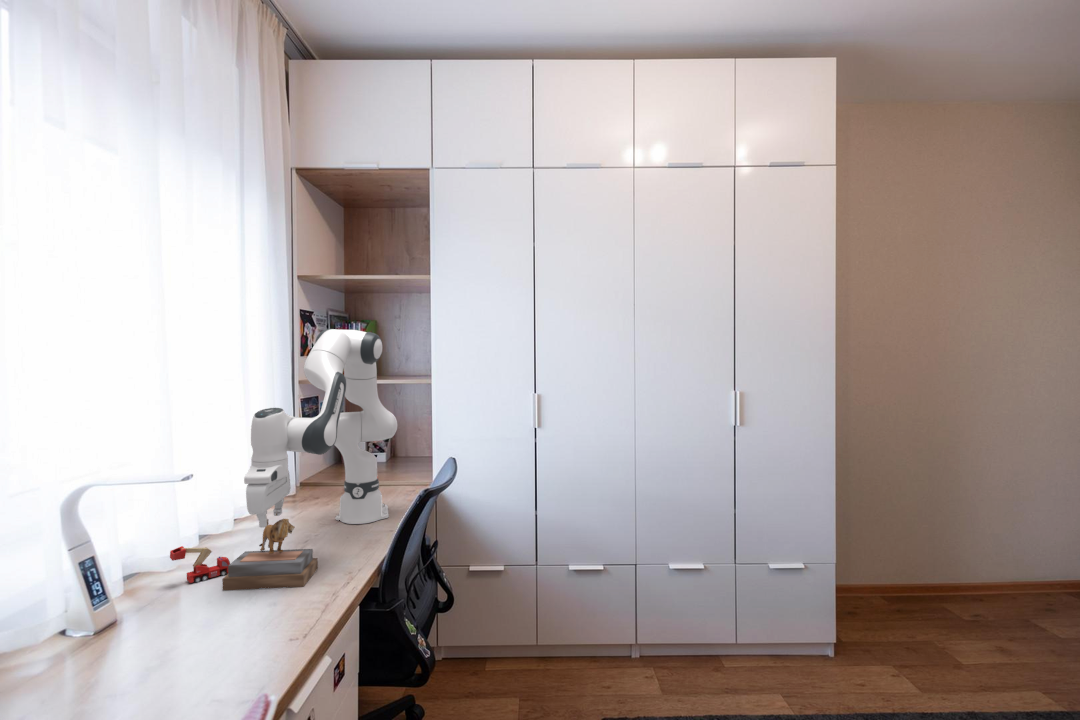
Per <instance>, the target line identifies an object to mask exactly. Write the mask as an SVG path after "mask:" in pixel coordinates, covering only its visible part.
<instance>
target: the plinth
mask: <svg viewBox="0 0 1080 720" xmlns="http://www.w3.org/2000/svg"><path fill="white" fill-rule="evenodd" d="M282 550H283V552H278V551H277V549H276V550H275V549H274V553H273V554H269V551H270V549H269V550H262V551H261V550H250V551H249V550H248V551H247V550H246V551H244V552H243V553H241V554H240V555H239V556H237V557H236V558H235V559H234V560H232V561H231V562H230V564H229V565H228V573H227V574H226V575H224V577H223V578H222V581H221V582H222V591H240V590H244V591H245V590H260V589H259V588H265V589H281V588H283V587H286V588H302V587H304V588H305V586H306V585H307V583H308V582H309V580H310V579H311V578H312V576H313V575H314V574H315V573H316V571H317V570H318V569H319V565H318V563H319V562H318V559H319V558H318V557H314V552H313V551H314V549H313V548H299V549H297V548H296V549H282ZM283 589H284V588H283Z"/></svg>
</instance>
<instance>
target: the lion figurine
mask: <svg viewBox="0 0 1080 720" xmlns="http://www.w3.org/2000/svg"><path fill="white" fill-rule="evenodd" d="M289 521H290V520H289V519H288V518H282V519H279V520H277V521H276V522H275V523H273V524H268V525H267V526H266V527H264V529H263V533H262V543H260V544H259V545H258V546H259V547H260V549H259V551H266V548H265V547H266V546H265V545H266V542H267V540H268V544H267V548H268V549H269V550H270V551H269V550H268V551H269V554H273V553H274V550H275V549H274V544H275V543H278V544H277V545H278V546H277V547H276V550H277V551H278V552H283V550H284V549H282V545H283V542H284V541H285V538H287V537H288V535H289V534H292V533H293V531H294V530H295V528H296V527H295V525H292V524H291V523H290V522H289Z"/></svg>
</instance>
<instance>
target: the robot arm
mask: <svg viewBox="0 0 1080 720" xmlns="http://www.w3.org/2000/svg"><path fill="white" fill-rule="evenodd" d="M383 347H384V346H383V339H382V338H381V337H380V336H379V334H377V333H374V332H371V331H367V332H366V331H362V330H359V329H358V330H357V329H334V328H328V329H327V328H326V329H323V330H321V331H320V332H319V333H318V334H317V336H316V338H315V342H314V344H313V347H312V348H311V350H310V352H309V353H308V355H307V358H306V359H305V361H304V365H303V373H304V376H305V378H306V379H307V381H308V382H309V383H310V384H311V385H312V386H314V387H315V388H317V389H319V390H321V391H323V392H325V393H324V398H323V401H322V405H321V407H320V408H321V409H320V412H319V413H318V415H317V416H313V417H300V416H299V417H298V416H293V415H289V414H288V413H286V412H285V410H284V409H283V408H282V407H269V408H264V409H260V410H259V411H257V412H255V413H254V414H253V416H252V420H251V426H250V427H251V428H250V446H251V448H252V454H251V458H250V459H251V461H250V462H251V463H250V466H249V469H248V471H247V472H246V474H245V475H244V477H243V479H244V480H243V481H244V484H245V485H246V488H245V498H246V509H247V512H248V513H249V515H256V518H257V520H258V526H259V528H265V527H266V526H267V525H269V519H268V517H267V516H268V515H267V514H268V511H269V510H270V509H271V508H272V507H274V509H273V511H272V512H273V517H279V516H282V514H283V506H284V502H285V497H287V496H288V495H289V494H291V476H290V471H289V455H288V452H293V453H294V452H296V453H308V454H313V455H318V456H319V455H320V456H321V455H324V454H326V453H327V452H329V451H330V450H331V449H332V448H333V447H334V446H335V447H336V448H337V449H338V451H339V452H340V454H341V456H342V459H343V464H344V474H345V477H344V478H345V480H344V482H343V483H344V484H343V490H344V493H343V494H342V495H341V496H339V497H340V498H339V514H337V515H336V516H335V518H334V520H335V519H336V520H335V521H339V520H340V522H342V523H343V524H348V525H349V524H350V525H361V524H363V525H364V524H369V523H374V522H377V521H379V520H384V519H389V518H390V517H389V506H388V504H385V503H383V495H382V492H381V490H380V481H379V476H378V459H377V457H376V456H375V454H373V453H371V452H369V451H367V450H365V449H362V448H361V447H360V446H359V444H360V443H365V442H379V441H381V442H382V441H383V440H384V441H385V440H388V439H392V438H393V437H394V436H395V435H396V433H397V430H398V421H397V418H396V416H395V415H394V414H393V412H391V411H389V410H388V408H386V407H385V406H384V405H383V403H382V401H381V400H380V398H379V393H378V378H377V376H378V374H377V373H378V370H377V362H378V361H379V360H380V358H381V356H382V353H383V349H384V348H383ZM343 373H344V374H343ZM345 399H346V400H348V402H350V403H351V404H353V405H356V406H358V407H360V408H361V409H362V410H361V411H349V412H348V411H345V412H342V409H343V404H344V402H345V401H344V400H345Z"/></svg>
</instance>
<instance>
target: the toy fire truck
mask: <svg viewBox="0 0 1080 720" xmlns="http://www.w3.org/2000/svg"><path fill="white" fill-rule="evenodd" d="M212 552H213V551H212V550H211V549H210V548H208V547H185V546H183V545H182V546H179V547H176V548H174V549H171V550H170V551H169V558H170V560H171V561H179V560H185V558H186V554H187V553H188V554H189V553H192V554H193V553H195V554H197V553H198V554H199V555H198V556H197V558H196V560H195V562H194V563H193V564H192V566H193V570H192V571H189V572H186V581H187V582H188V583H189V584H191V583H197V584H198V583H200V582H201V580H202V581H207V580H208V579H211V578H215V577H218V576H220V575H221V576H222V577H223V575H224V576H226V575H227V574H228V565H229V564H231V561H230V559H229V557H226V556H218V557H217V558H216V565H213V566H208V565H207V563H204V562H205V561H206V559H207V558H208V557H209V556H210V554H211V553H212Z"/></svg>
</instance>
